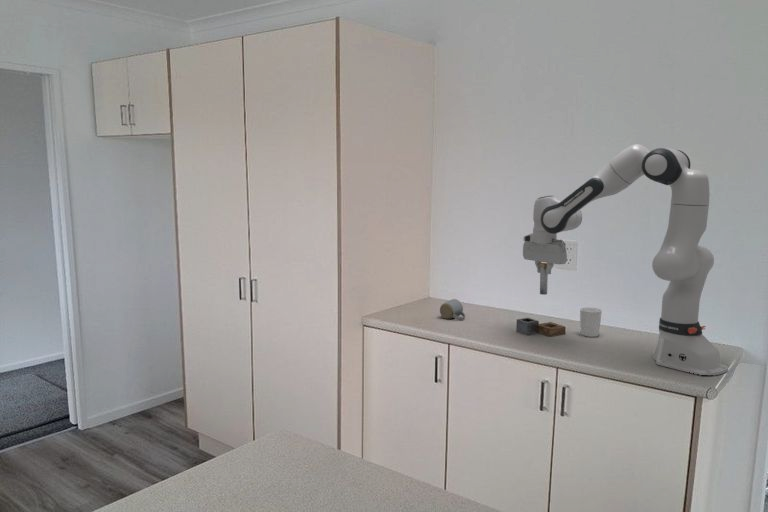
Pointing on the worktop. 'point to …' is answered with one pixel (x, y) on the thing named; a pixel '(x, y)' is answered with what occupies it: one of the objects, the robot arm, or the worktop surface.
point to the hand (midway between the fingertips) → (544, 273)
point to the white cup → (590, 321)
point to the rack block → (551, 329)
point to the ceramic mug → (452, 310)
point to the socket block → (527, 326)
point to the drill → (543, 279)
